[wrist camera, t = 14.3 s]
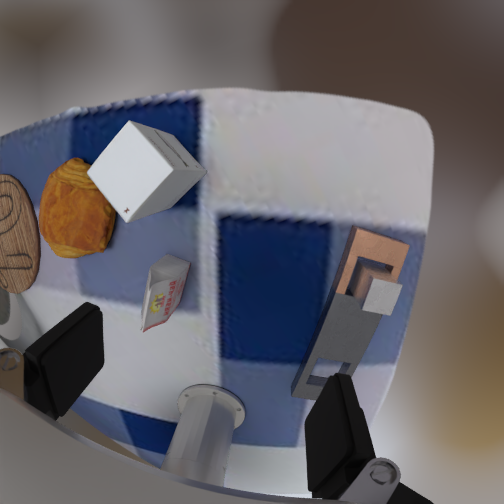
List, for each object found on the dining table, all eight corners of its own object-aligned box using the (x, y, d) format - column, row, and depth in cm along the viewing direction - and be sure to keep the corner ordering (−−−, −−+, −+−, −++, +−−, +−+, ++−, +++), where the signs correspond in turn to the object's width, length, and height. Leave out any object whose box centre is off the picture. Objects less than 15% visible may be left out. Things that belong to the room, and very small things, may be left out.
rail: (334, 393, 44) (336, 403, 41) (291, 386, 44) (291, 396, 41) (402, 241, 36) (409, 245, 33) (352, 225, 36) (357, 228, 34)
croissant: (56, 230, 43) (25, 246, 35) (69, 148, 36) (33, 154, 29) (113, 267, 43) (84, 290, 36) (134, 179, 36) (100, 190, 29)
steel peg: (371, 289, 38) (390, 315, 30) (346, 284, 38) (361, 310, 31) (380, 264, 37) (402, 285, 29) (355, 257, 37) (373, 278, 29)
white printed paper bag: (157, 294, 41) (128, 325, 32) (167, 253, 39) (135, 278, 30) (179, 303, 41) (154, 337, 32) (190, 262, 39) (165, 290, 30)
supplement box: (209, 172, 36) (176, 171, 24) (170, 209, 38) (125, 226, 25) (174, 133, 35) (129, 118, 23) (137, 171, 36) (83, 173, 24)
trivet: (56, 285, 43) (50, 288, 42) (-1, 294, 47) (-6, 296, 45) (28, 155, 37) (21, 155, 35) (-25, 194, 41) (-30, 195, 39)
